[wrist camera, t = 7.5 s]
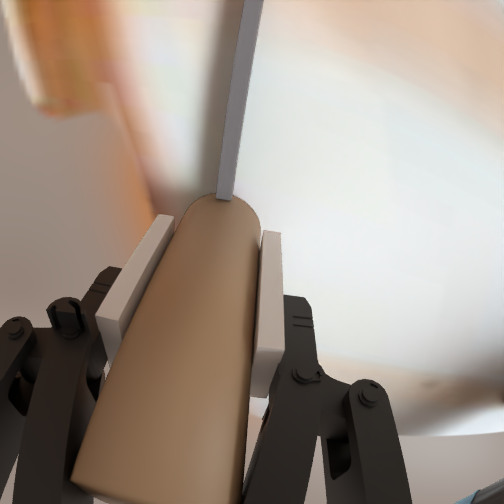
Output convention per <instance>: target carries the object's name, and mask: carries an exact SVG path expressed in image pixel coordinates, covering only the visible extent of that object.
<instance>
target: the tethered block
mask: <svg viewBox="0 0 504 504" xmlns="http://www.w3.org/2000/svg"><path fill="white" fill-rule="evenodd" d="M263 1H264V0H245V1H244V6H243V12H242V17H241V23H240V29H239V35H238V41H237V47H236V53H235V59H234V65H233V71H232V78H231V85H230V91H229V98H228V105H227V112H226V119H225V127H224V134H223V142H222V150H221V158H220V166H219V174H218V182H217V191H216V194H209V195H206V196H203V197H201V198H199V199H197V200H196V201H195V202H193V203H192V204H191V205H190V207H189V208H188V209H187V211H186V213H185V214H184V216H183V218H182V220H181V222H180V224H179V226H178V227H177V229H176V231H175V233H174V235H173V237H172V239H171V241H170V243H169V244H168V246H167V248H166V250H165V252H164V254H163V256H162V258H161V260H160V262H159V264H158V266H157V268H156V270H155V272H154V274H153V276H152V278H151V280H150V282H149V284H148V286H147V288H146V290H145V292H144V295H143V297H142V299H141V301H140V303H139V305H138V307H137V309H136V311H135V314H134V316H133V318H132V320H131V322H130V324H129V327H128V329H127V331H126V333H125V336H124V338H123V340H122V342H121V345H120V347H119V349H118V352H117V354H116V356H115V358H114V361H113V363H112V366H111V368H110V371H109V373H108V375H107V378H106V380H105V383H104V385H103V387H102V390H101V392H100V395H99V398H98V400H97V403H96V405H95V408H94V410H93V413H92V416H91V418H90V421H89V424H88V427H87V429H86V432H85V435H84V438H83V440H82V443H81V446H80V449H79V452H78V455H77V458H76V461H75V464H74V467H73V470H72V473H71V476H70V481H71V482H72V483H74V484H75V485H76V486H78V487H79V488H80V489H82V490H83V491H85V492H86V493H87V494H89V495H91V496H93V497H95V498H97V499H99V500H101V501H104V502H106V503H109V504H241V502H242V493H243V480H244V466H245V454H246V441H247V427H248V414H249V400H250V386H251V372H252V357H253V342H254V328H255V313H256V298H257V283H258V268H259V252H260V236H261V227H260V222H259V219H258V217H257V215H256V213H255V211H254V210H253V209H252V208H251V207H250V206H249V205H248V204H247V203H246V202H245V201H243V200H241V199H240V198H238V197H235V196H232V195H233V189H234V181H235V174H236V167H237V160H238V154H239V147H240V140H241V133H242V127H243V120H244V114H245V107H246V101H247V95H248V88H249V82H250V76H251V70H252V64H253V58H254V52H255V46H256V41H257V35H258V29H259V23H260V18H261V12H262V7H263Z"/></svg>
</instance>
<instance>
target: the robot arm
mask: <svg viewBox="0 0 504 504" xmlns="http://www.w3.org/2000/svg"><path fill="white" fill-rule="evenodd" d="M174 219H175V216H169V215H162V214H158V216H157V217H156V219H155V220H154V221H153V223H152V224H151V226H150V227H149V229H148V230H147V232H146V234H145V235H144V237H143V238H142V240H141V241H140V243H139V244H138V245H137V247H136V249H135V250H134V252H133V253H132V255H131V256H130V258H129V260H128V261H127V263H126V264H125V266H124V267H123V269H122V268H116V267H111V266H109V267H108V268H106V269H105V270H103V271H102V272H100V273H99V275H98V277H97V278H96V279H95V281H94V284H92V285H91V287H90V288H89V291H87V293H86V294H85V296H84V297H83V299H82V300H81V301H79V300H78V299H76V298H72V297H63V298H60V299H57V300H55V301H54V302H52V303H51V304H50V305H49V306H48V308H47V309H46V311H47V314H48V316H49V319H50V322H51V324H52V327H51V328H33V327H32V324H31V322H30V320H28V319H27V318H25V317H13V318H11V319H9V320H7V321H6V322H5V323H4V324H3V325H2V327H1V328H0V499H1V496H2V494H3V491H4V488H5V486H6V483H7V480H8V478H9V475H10V473H11V470H12V468H13V466H14V463H15V461H16V458H17V456H18V454H19V456H18V462H17V468H16V475H15V483H14V492H13V502H12V504H93V498H94V497H93V496H91V495H89V494H87V493H86V492H85V491H83V490H82V489H80V488H79V487H78V486H76V485H75V484H74V483H72V482H71V481H70V476H71V473H72V470H73V467H74V464H75V461H76V458H77V455H78V452H79V449H80V446H81V443H82V440H83V438H84V435H85V432H86V429H87V427H88V424H89V421H90V418H91V416H92V413H93V410H94V408H95V405H96V403H97V400H98V398H99V395H100V392H101V390H102V387H103V385H104V383H105V373H104V370H103V369H104V367H105V365H106V362H107V360H108V363H109V367H110V368H111V366H112V363H113V361H114V358H115V356H116V354H117V352H118V349H119V347H120V345H121V342H122V340H123V338H124V336H125V333H126V331H127V329H128V327H129V324H130V322H131V320H132V318H133V316H134V314H135V311H136V309H137V307H138V305H139V303H140V301H141V299H142V297H143V295H144V292H145V290H146V288H147V286H148V284H149V282H150V280H151V278H152V276H153V274H154V272H155V270H156V268H157V266H158V264H159V262H160V260H161V258H162V256H163V254H164V252H165V250H166V248H167V246H168V244H169V243H170V241H171V239H172V237H173V235H174ZM312 318H313V317H312V309H311V306H310V305H309V303H308V302H307V300H306V299H305V298H304V297H297V296H290V295H283V276H282V252H281V233H279V232H273V231H267V230H264V231H263V236H262V241H261V246H260V252H259V268H258V283H257V298H256V313H255V328H254V342H253V357H252V372H251V386H250V397H258V398H267V396H268V393H269V404H268V406H267V409H266V411H265V414H264V416H263V418H262V420H263V422H262V426H261V429H260V432H259V436H258V440H257V442H256V446H255V449H254V452H253V455H252V458H251V461H250V465H249V468H248V471H247V474H246V477H245V480H244V483H243V493H242V502H241V504H304V501H305V496H306V491H307V487H308V482H309V477H310V472H311V467H312V462H313V457H314V452H315V446H316V440H317V436H320V437H321V445H322V454H323V464H324V475H325V485H326V497H327V504H412V500H411V494H410V488H409V483H408V478H407V473H406V469H405V464H404V459H403V455H402V450H401V446H400V442H399V438H398V433H397V429H396V425H395V421H394V417H393V414H392V410H391V406H390V402H389V399H388V395H387V393H386V391H385V389H384V388H383V387H382V386H381V385H380V384H379V383H377V382H375V381H373V380H368V379H362V380H358V381H356V382H355V383H353V384H352V385H349V384H346V383H344V382H341V381H338V380H335V379H333V378H331V377H330V376H328V375H327V374H325V372H324V370H323V369H322V367H321V366H320V365H319V363H318V359H317V351H316V342H315V333H314V329H313V327H314V325H313V320H312ZM454 504H504V478H503V479H501V480H499V481H498V482H495V483H494V484H492V485H490V486H488V487H486V488H484V489H482V490H477V491H475V492H474V493H473V494H472V495H470V496H468V497H466V498H464V499H462V500H460V501H458V502H456V503H454Z"/></svg>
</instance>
